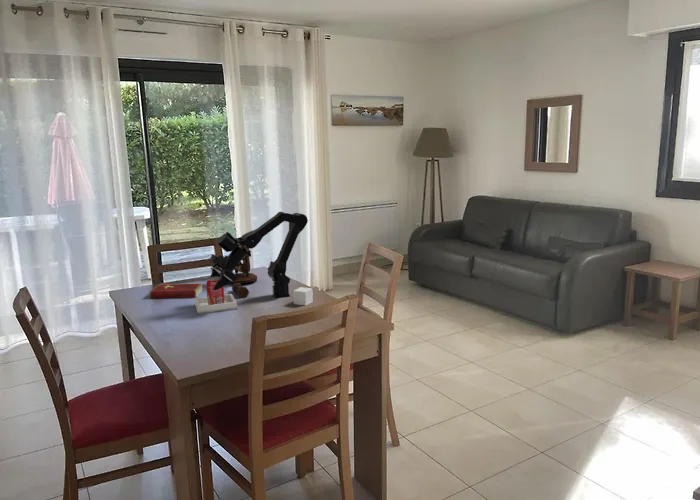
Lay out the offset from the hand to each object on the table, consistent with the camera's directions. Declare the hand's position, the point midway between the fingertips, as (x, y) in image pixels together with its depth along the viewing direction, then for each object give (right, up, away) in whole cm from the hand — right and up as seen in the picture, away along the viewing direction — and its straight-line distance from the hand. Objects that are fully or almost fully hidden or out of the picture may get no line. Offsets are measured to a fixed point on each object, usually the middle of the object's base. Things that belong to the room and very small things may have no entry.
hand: (211, 287), depth 225 cm
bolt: (+8, -5, +22) cm, 24 cm away
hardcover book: (-22, -6, +23) cm, 32 cm away
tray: (+1, -9, +2) cm, 9 cm away
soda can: (+2, -8, +2) cm, 8 cm away
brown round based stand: (+5, -1, +43) cm, 43 cm away
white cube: (+39, -7, +6) cm, 40 cm away
